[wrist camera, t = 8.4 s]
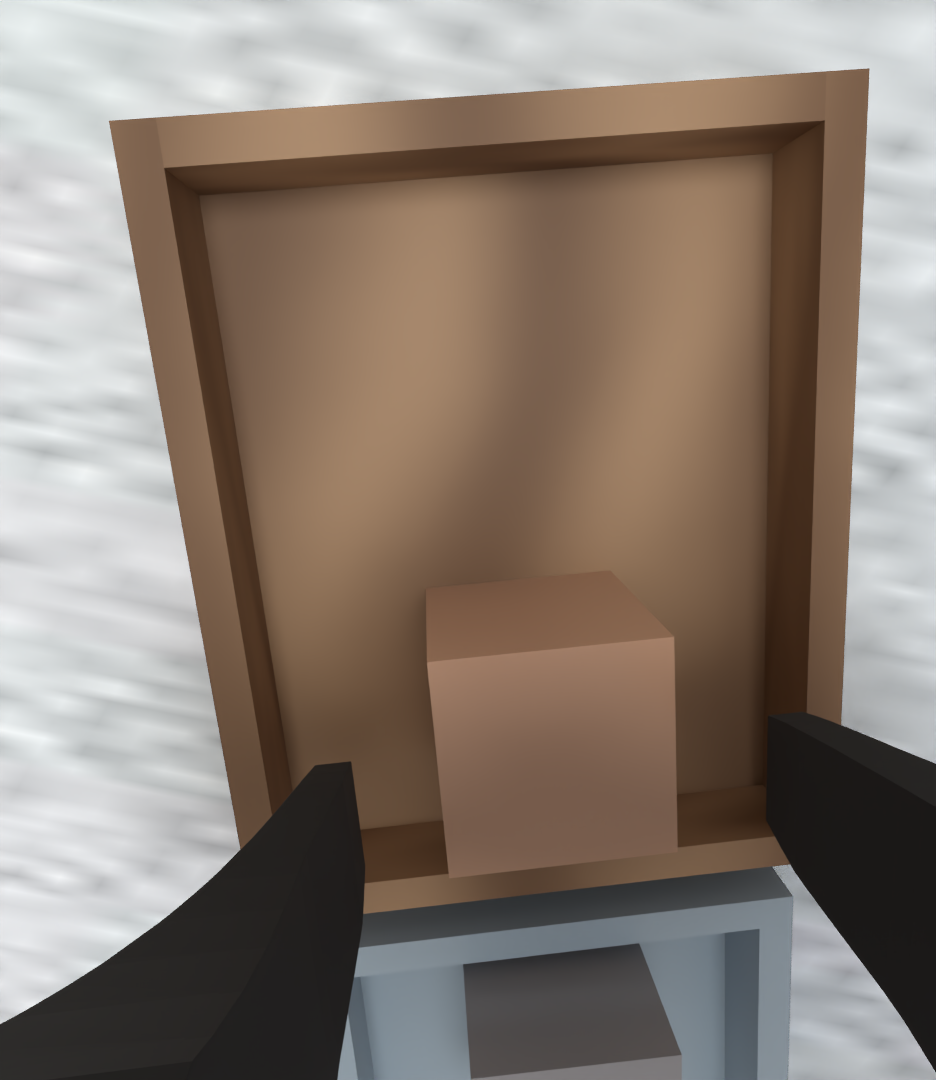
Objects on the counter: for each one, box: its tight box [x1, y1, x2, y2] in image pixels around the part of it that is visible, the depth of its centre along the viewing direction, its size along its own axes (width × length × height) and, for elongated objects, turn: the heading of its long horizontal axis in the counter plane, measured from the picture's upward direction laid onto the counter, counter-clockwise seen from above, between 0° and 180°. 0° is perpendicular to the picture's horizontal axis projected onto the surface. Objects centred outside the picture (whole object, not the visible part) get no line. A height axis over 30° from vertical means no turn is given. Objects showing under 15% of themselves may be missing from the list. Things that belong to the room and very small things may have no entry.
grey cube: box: [463, 943, 682, 1080], centre depth 17 cm, size 4×4×4 cm
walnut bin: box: [109, 69, 869, 914], centre depth 16 cm, size 14×17×2 cm
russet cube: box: [426, 570, 678, 878], centre depth 15 cm, size 4×4×4 cm
